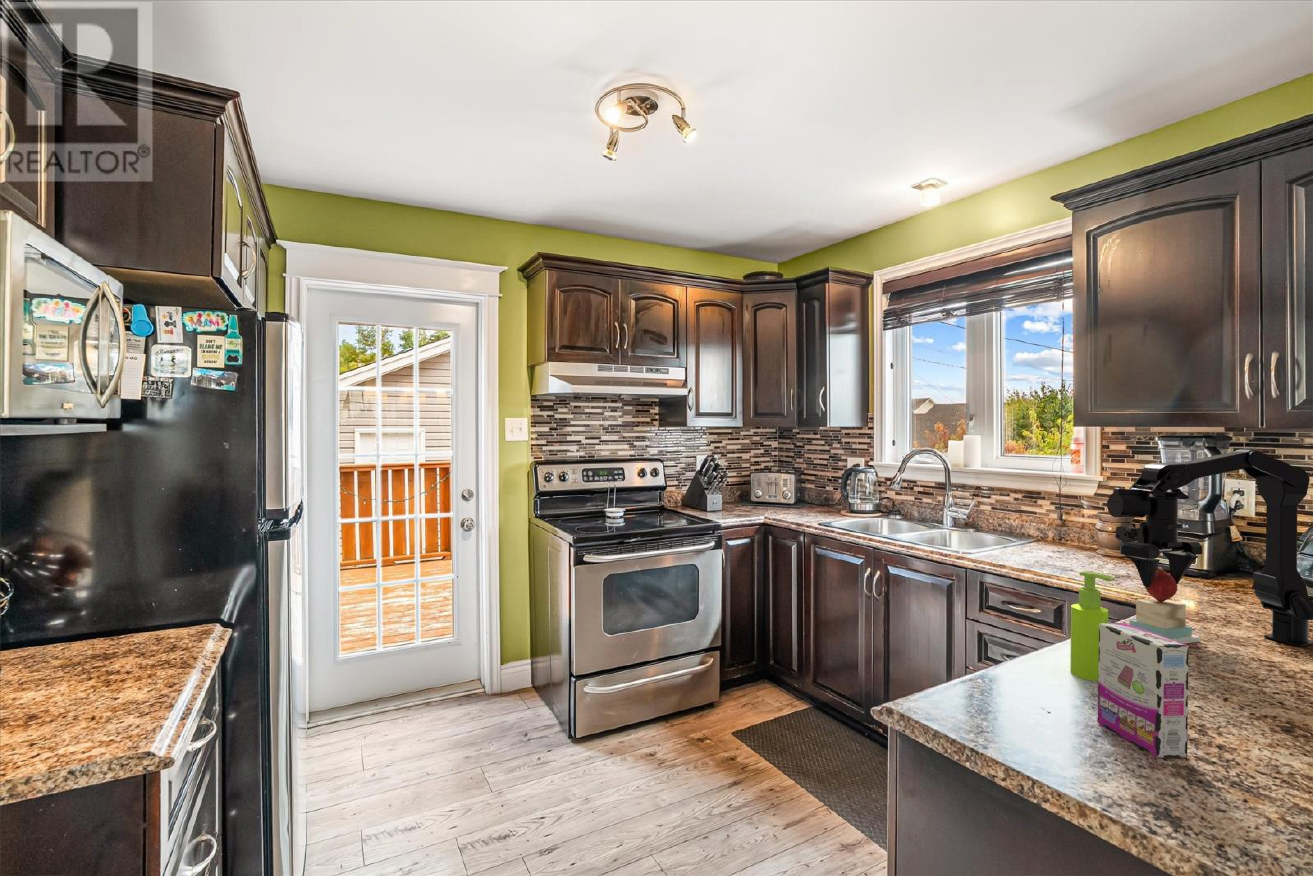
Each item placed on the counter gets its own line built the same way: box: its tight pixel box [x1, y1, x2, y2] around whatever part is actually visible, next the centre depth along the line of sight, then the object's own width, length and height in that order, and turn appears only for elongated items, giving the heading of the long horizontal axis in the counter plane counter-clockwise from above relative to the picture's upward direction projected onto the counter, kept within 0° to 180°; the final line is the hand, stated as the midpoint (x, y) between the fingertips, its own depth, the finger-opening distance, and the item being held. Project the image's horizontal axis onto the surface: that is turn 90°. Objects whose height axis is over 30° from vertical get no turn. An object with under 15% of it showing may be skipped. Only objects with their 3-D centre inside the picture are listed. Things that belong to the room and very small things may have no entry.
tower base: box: [1129, 618, 1201, 645], centre depth 140 cm, size 10×10×3 cm
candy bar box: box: [1097, 622, 1190, 759], centre depth 93 cm, size 11×5×16 cm, turn 5°
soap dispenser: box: [1070, 570, 1116, 682], centre depth 117 cm, size 6×7×20 cm
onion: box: [1144, 566, 1178, 602], centre depth 140 cm, size 6×6×8 cm
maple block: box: [1135, 597, 1187, 629], centre depth 140 cm, size 7×6×5 cm
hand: (1160, 585), depth 140 cm, fingers open, 9 cm apart
